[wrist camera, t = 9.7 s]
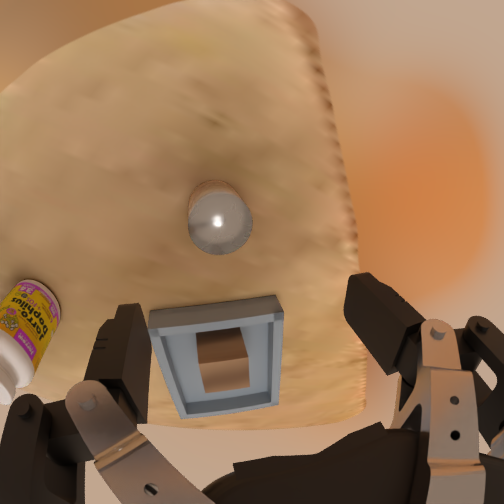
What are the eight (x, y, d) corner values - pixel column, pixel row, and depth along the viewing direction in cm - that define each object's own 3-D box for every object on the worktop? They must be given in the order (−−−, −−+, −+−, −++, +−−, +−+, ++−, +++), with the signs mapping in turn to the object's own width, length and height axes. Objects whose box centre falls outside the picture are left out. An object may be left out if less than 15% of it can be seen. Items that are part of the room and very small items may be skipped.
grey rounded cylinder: (191, 231, 24) (191, 258, 19) (186, 182, 22) (184, 196, 18) (240, 226, 25) (253, 251, 20) (238, 178, 23) (251, 190, 18)
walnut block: (195, 329, 27) (198, 364, 23) (238, 323, 28) (248, 357, 24) (201, 359, 29) (205, 393, 25) (240, 353, 30) (249, 387, 26)
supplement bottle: (72, 308, 25) (31, 401, 13) (47, 335, 25) (12, 419, 14) (29, 264, 22) (-34, 344, 10) (8, 297, 22) (-43, 373, 11)
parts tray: (179, 401, 33) (180, 419, 31) (150, 310, 27) (147, 329, 24) (272, 388, 36) (278, 404, 33) (275, 295, 29) (283, 311, 26)
